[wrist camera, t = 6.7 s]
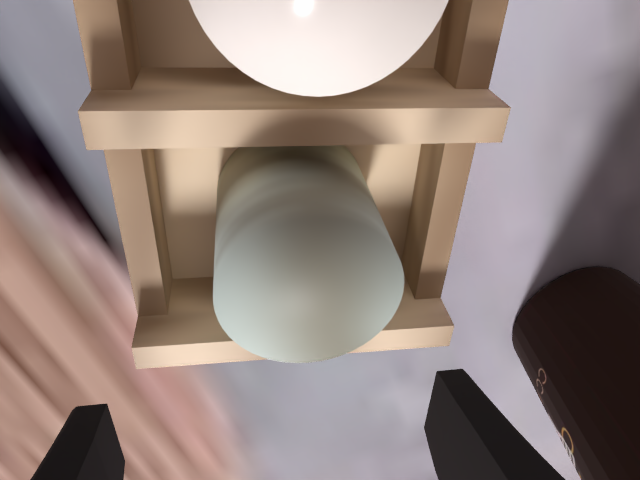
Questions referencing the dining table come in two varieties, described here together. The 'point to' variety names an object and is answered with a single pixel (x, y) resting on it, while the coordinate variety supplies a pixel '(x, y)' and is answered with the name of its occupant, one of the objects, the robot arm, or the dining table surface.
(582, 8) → the dining table surface
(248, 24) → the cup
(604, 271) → the coffee mug
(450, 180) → the rack
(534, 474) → the robot arm
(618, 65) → the dining table surface
